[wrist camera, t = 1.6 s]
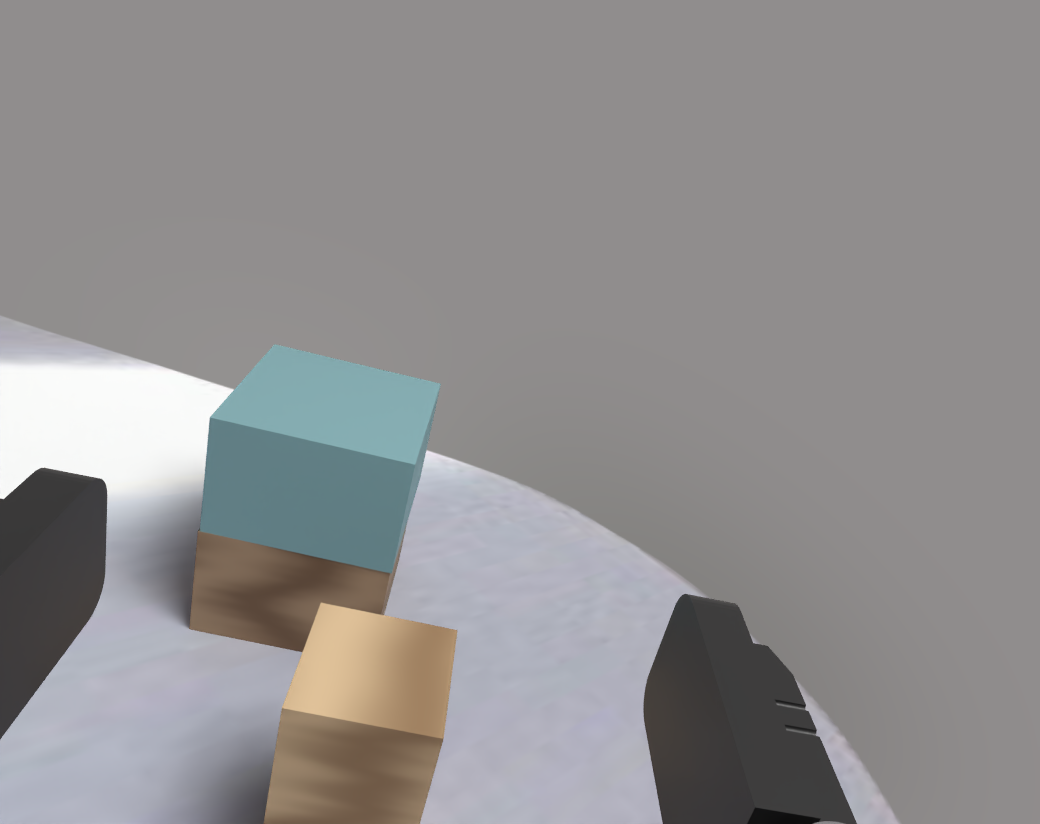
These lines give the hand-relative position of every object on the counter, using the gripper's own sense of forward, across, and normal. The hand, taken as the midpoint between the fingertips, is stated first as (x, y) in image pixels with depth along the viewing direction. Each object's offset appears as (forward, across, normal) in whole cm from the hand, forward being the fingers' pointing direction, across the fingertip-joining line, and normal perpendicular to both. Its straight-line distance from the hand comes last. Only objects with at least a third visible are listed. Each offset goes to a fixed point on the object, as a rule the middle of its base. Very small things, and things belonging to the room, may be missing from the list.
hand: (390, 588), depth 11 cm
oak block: (+12, 0, +22) cm, 26 cm away
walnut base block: (+27, +5, +22) cm, 35 cm away
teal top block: (+27, +5, +16) cm, 32 cm away
